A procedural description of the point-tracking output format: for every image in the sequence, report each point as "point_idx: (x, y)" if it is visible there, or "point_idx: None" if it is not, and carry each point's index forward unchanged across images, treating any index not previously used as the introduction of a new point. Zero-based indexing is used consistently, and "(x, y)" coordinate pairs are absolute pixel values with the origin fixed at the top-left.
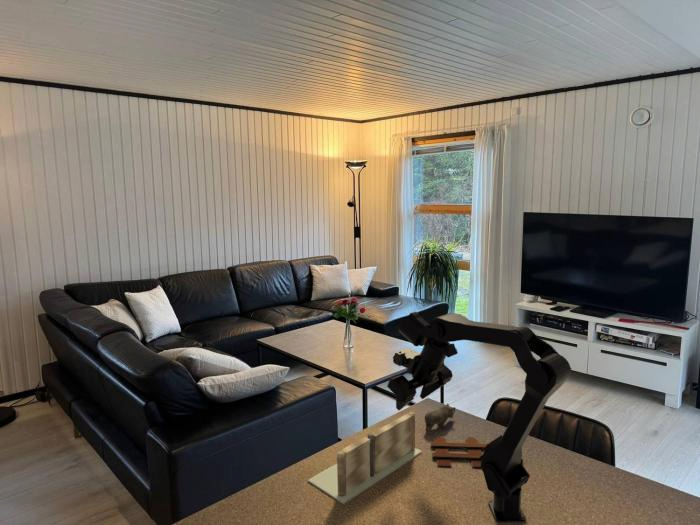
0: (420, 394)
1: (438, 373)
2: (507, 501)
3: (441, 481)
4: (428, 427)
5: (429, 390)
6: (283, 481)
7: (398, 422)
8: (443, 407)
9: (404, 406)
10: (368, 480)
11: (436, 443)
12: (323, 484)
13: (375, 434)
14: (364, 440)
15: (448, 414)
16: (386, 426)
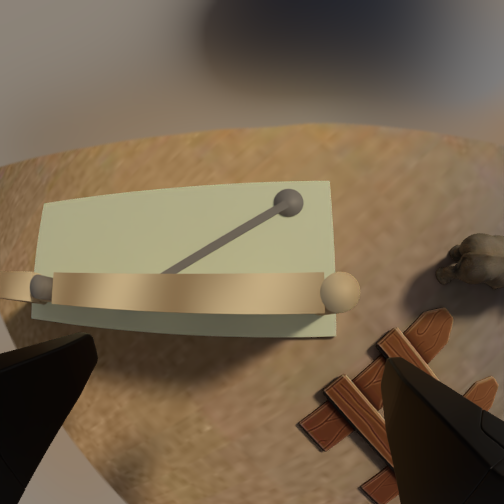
0: (392, 370)
1: None
2: None
3: (243, 464)
4: (449, 270)
5: (412, 494)
6: (32, 174)
7: (201, 304)
8: None
9: (61, 419)
10: (104, 311)
11: (400, 348)
12: (46, 239)
13: (58, 293)
14: (18, 288)
15: None
16: (129, 284)
